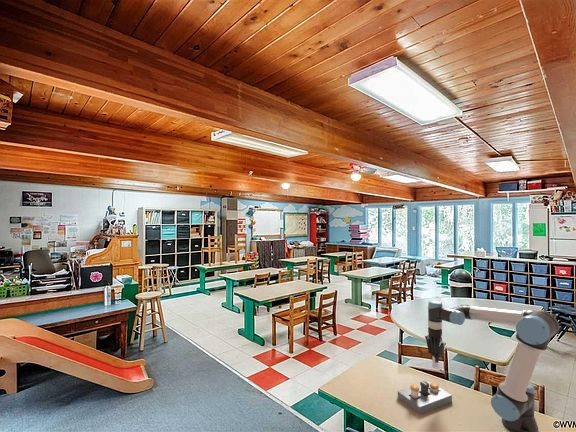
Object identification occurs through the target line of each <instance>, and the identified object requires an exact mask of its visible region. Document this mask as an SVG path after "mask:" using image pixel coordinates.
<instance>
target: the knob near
mask: <svg viewBox="0 0 576 432" xmlns="http://www.w3.org/2000/svg"><path fill="white" fill-rule="evenodd" d="M417 385H418V384H410V386H409V387H410V389H411V398H413V399H414V400H417V399H418V391H419V386H417Z"/></svg>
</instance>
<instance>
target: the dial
mask: <svg viewBox="0 0 576 432" xmlns="http://www.w3.org/2000/svg"><path fill="white" fill-rule="evenodd" d="M419 384H420V385H421V394H422V395H424V396H428V388H429V383H427V381H425V380H424V381H423V380H422V381H420V382H419Z"/></svg>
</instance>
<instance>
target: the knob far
mask: <svg viewBox="0 0 576 432" xmlns="http://www.w3.org/2000/svg"><path fill="white" fill-rule="evenodd" d="M430 387H431V388H430V390H431V391H432V392H434V393H436V392H438V389H439V387H440V386H439V384H437V383H436V382H431V383H430Z"/></svg>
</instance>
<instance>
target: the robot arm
mask: <svg viewBox="0 0 576 432" xmlns="http://www.w3.org/2000/svg"><path fill="white" fill-rule="evenodd" d="M427 311H428V312H427V314H428V315H427V317H428V318H427V327H428V328H427V333H428V334H427V335H425V336H424V338H425V340H426V347H427V352H428V354H430V355H431V361H432V362H431V364H432V365H431V366H432V368H434V369H435V368H438V367H439V365H438V364H439V362H440V361H439V359H440V358H441V357H443V353H444V349H445V346H446V344H447V343H446V342H444V341H443V338H442V336H443V321H445V322H448V323H451V324H453V325H458V326H461V325H463V324H464V323H465V320H471V321H478V322H479V321H480V322H486V323H491V324H499V325H500V324H501V325H508V326H514V327H515V332H516V334H515V339H516V340H517V344H516V347H515V349H514V353H513V355H512V359H511V361H510V365H509V367H508V369H507V373H506V376H505V379H504V381H503V382H499V384H498V387H497V390H496V393H495V394H493V395H492V396H491V399H490V405H491V407H492V409H493V411H494V412H495V413H496V414H497V416H499V417H500V418H501V422H502V425H504V427H505V428H507V429H508V430H510V431H511V432H539V425H538V423H537V421H536V417H535V405H536V404H535V400H536V399H535V397H536V396H535V395H536V392H535V391H536V390H535V387H534V386H533V385H532V384H530V381H531V379H532V376H533V373H534V371H535V368H536V365H537V363H538V360H539V357H540V354H541V352H542V351H543V352H544V351H547V348H548V346H549V343H550V340H551V338H553V336H555V335H556V334H557V333H559V329H560V325H559V322H558V320H557V319H556V318H555V316H554V315H552V313H549V312H548V311H547V312H546V311H543V310H533V309H530V310H529V309H524V310H522V311H519V310H510V309H501V308H491V307H490V308H489V307H483V306H482V307H481V306H473V305H470V304H467V303H466V304H460V305H459V306H456V307H453V308H449V307H445V306H443V303H442V302H441V301H438V300H430V301H429V302H428V307H427Z"/></svg>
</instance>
